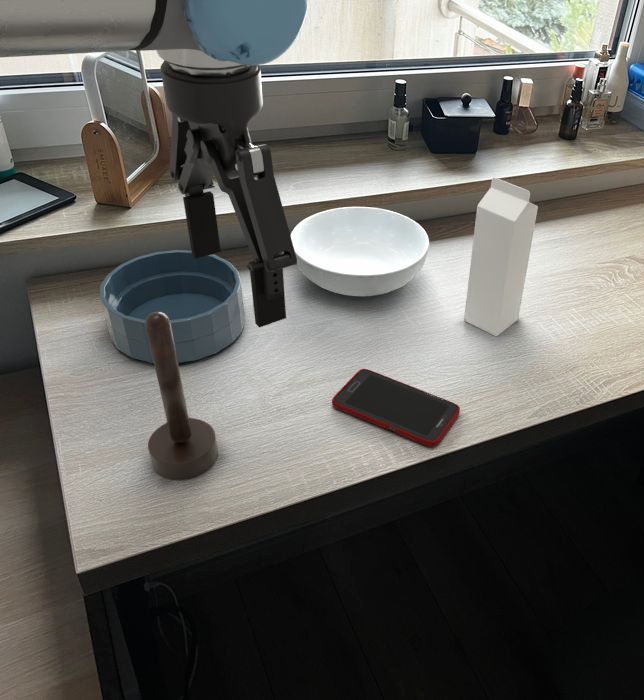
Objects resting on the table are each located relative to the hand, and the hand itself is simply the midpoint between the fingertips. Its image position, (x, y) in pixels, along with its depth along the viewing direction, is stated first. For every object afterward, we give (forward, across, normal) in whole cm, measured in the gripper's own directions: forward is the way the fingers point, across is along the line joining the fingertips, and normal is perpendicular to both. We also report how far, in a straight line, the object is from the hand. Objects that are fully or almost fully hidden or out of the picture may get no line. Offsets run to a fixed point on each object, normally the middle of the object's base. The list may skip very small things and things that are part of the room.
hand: (237, 285), depth 70 cm
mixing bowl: (+22, +26, -2) cm, 34 cm away
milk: (+22, +4, -40) cm, 46 cm away
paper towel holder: (+22, +3, +7) cm, 23 cm away
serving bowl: (+22, +24, -30) cm, 44 cm away
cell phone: (+22, -4, -17) cm, 28 cm away
